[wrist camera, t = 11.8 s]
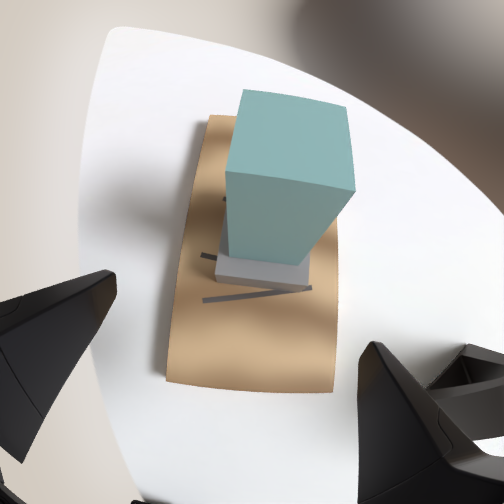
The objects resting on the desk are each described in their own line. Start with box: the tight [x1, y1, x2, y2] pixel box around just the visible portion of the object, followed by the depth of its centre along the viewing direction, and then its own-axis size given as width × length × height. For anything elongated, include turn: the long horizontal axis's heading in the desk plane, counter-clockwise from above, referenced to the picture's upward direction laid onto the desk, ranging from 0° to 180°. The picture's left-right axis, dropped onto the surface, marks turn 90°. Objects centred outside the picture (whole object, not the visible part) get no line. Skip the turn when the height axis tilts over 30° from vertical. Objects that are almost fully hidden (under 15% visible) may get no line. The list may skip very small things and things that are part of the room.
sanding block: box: [215, 89, 356, 293], centre depth 15 cm, size 7×6×12 cm
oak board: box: [166, 115, 338, 393], centre depth 22 cm, size 24×12×2 cm, turn 176°
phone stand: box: [425, 344, 504, 441], centre depth 13 cm, size 9×6×12 cm, turn 118°
